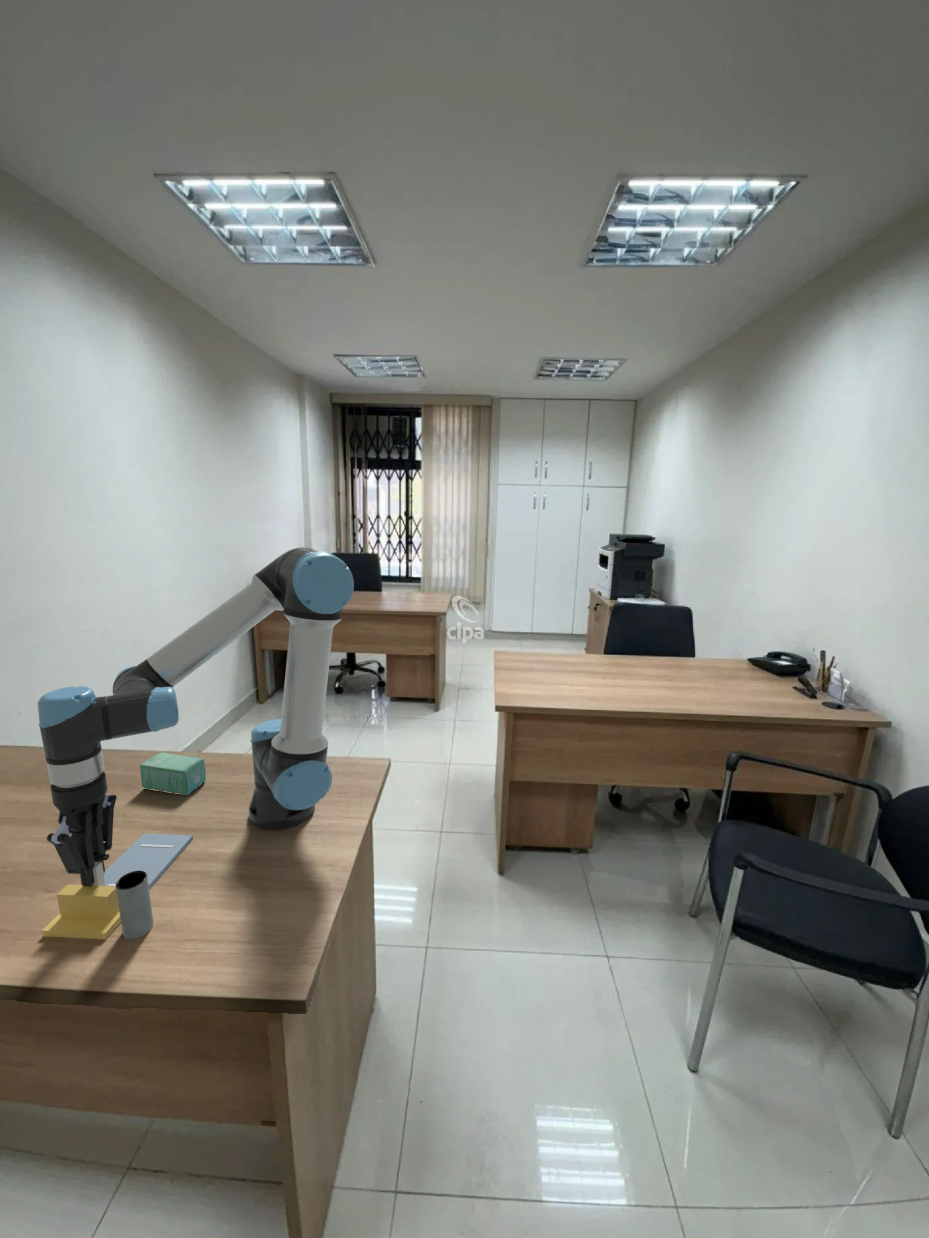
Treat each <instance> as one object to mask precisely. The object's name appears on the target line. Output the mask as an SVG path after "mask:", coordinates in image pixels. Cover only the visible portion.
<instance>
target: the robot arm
mask: <svg viewBox="0 0 929 1238" xmlns="http://www.w3.org/2000/svg"><path fill="white" fill-rule="evenodd" d="M354 586H355V583H354V577H353V573H352V571H351V570H350V568H349V567H348V565H347V563H346V562H344V561H343V559H341V558H340V557H337V556H336V555H335V554H333V553H331V552H328V551H324V550H317V549H313V548H310V547H309V548H308V547H296V548H292V549H290V550H288V551H285V552H283V553H282V554H281V555H280V556H278V557H277V558H275V559H274V560H273V561H271V562H270V563H268V564H267V565H266V566H265V567H263V568H262V569H260V570H259V571H258V572H257V573H255V574H254V575H252V580H251V583H250V584H248V585H247V586H245V587H244V588H243V589H242V590H240V591H238V592H237V593H236V594H235V595H233V596H232V597H230V598H229V599H227V600H226V601H225V602H223V603H222V604H221V605H219V606H218V607H216V608H215V609H214V610H212V611H211V612H210V613H208V614H207V615H205V616H204V617H203V618H201V619H199V620H198V621H197V622H196V623H194V624H193V625H192V626H190V627H189V628H187V629H186V630H185V631H183V632H182V633H181V634H179V635H177V636H176V637H175V638H173V639H172V640H171V641H169V642H168V643H167V644H165V645H164V646H163V647H161V648H159V649H158V650H157V651H155V652H154V653H153V654H152V655H150V656H149V657H148V658H146V659H145V660H144V661H143V660H142V662H140V663H139V664H137V665H132V666H128V667H126V668H124V669H121V671H120V672H119V673H118V674H117V675H116V677H115V679H114V681H113V684H112V694H113V695H105V696H97V697H96V694H95V693H94V689H92V688H90V687H88V686H83V685H82V686H67V687H63V688H57V689H54V690H51V691H49V692H47V693H45V694H43V695H42V696H41V697H40V698H39V699H38V701H37V709H38V710H37V711H38V719H39V722H38V727H39V730H40V735H41V740H42V741H41V742H42V745H43V750H44V757H45V761H46V766H47V767H46V768H47V772H48V773H47V774H48V779H49V783H50V784H51V785H50V786H49V787H50V793H51V798H52V803H53V805H54V807H55V808H56V809H57V810H58V811H59V813H58V819H57V820H58V821H57V822H58V824H59V826H58V827H57V828H56V830H55V832H51V833H48V835H47V836H46V840H47V842H49V843H51V845H53V846H54V849H55V850H56V852H57V854H58V856H59V858H60V860H61V862H62V864H63V866H64V869H65V871H66V873H67V874H69V875H73V874H74V875H79V876H80V877H79V878H80V885H82V886H90V887H91V886H106V885H105V879H104V873H105V871H106V868H105V861H108V859H109V858H110V854H109V853H106V852H107V851H110V850H111V849H112V847H113V836H114V835H113V833H114V831H113V830H114V816H115V815H114V814H115V813H114V811H115V810H114V809H115V804H116V801H117V795H116V794H107V792H108V783H107V777H106V772H105V768H106V767H105V766H106V765H105V762H104V761H105V760H104V754H103V748H102V742H105V741H108V740H114V739H119V738H123V737H124V738H125V737H130V736H135V735H140V734H145V733H146V734H147V733H152V732H153V733H155V732H159V731H161V730H165V729H169V728H173V727H175V726H176V725H178V723H179V720H180V719H179V718H180V716H179V715H180V714H179V706H178V699H177V693H176V690H175V688H174V687H175V686H177V685H178V684H179V683H180V682H182V680H184V679H186V678H187V677H189V675H191V674H193V672H195V671H196V670H198V669H199V668H200V667H202V666H203V665H204V664H205V663H207V662H209V660H211V659H212V658H214V657H215V656H216V655H218V654H219V653H220V652H221V651H223V650H224V649H225V648H227V647H229V645H230V644H232V643H234V642H235V641H236V640H237V639H239V638H240V637H242V636H243V635H244V634H246V633H247V632H249V630H251V629H252V628H253V627H255V626H257V624H258V623H260V622H262V621H263V620H264V619H265V618H267V617H268V616H269V615H271V614H272V613H273V612H274V611H281V612H282V611H283V615H284V617H285V618H286V619H287V620H288V622H289V623H290V625H289V634H288V636H289V637H288V643H287V644H288V645H287V646H288V647H287V653H286V654H287V655H286V666H285V676H284V677H285V678H284V686H283V688H284V689H283V697H282V708H281V716H280V717H281V718H275V719H271V720H267V721H264V722H261V723H259V724H257V725H256V726H254V727H253V728H252V730H251V733H250V734H251V736H250V737H251V738H250V743H251V752H252V753H251V754H252V764H253V765H252V766H253V775H254V776H253V778H254V789H253V792H252V795H251V799H250V803H249V806H248V817H249V821H250V823H251V824H252V825H253V826H255V827H257V828H259V829H262V830H268V831H269V830H270V831H271V830H272V831H275V830H276V831H277V830H282V829H288V828H291V827H293V826H296V825H298V824H299V825H300V824H302V822H304V821H306V820H307V819H308V818H310V817H311V815H313V813H314V811H315V809H316V808H315V807H316V805H317V804H318V803H319V802H320V801H321V800H322V799H324V798H325V797H326V795H327V794H328V792H329V791H330V789H331V787H332V782H333V774H332V771H331V768H330V766H329V765H328V764H327V756H328V749H329V748H328V747H329V740H328V738H326V736H325V735H323V725H324V717H325V708H326V707H325V706H326V698H327V689H328V678H329V672H330V671H329V670H330V662H331V650H332V642H333V633H334V628H335V626H336V625H337V624H338V623H340V622H341V621H342V619H343V612H344V611H343V610H344V607H345V606H346V605H348V604H349V602H350V600H351V598H352V596H353V593H354V589H355V587H354Z"/></svg>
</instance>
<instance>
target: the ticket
mask: <svg viewBox="0 0 929 1238" xmlns="http://www.w3.org/2000/svg"><path fill="white" fill-rule="evenodd" d="M193 837H194V836H193V835H191V834H169V833H168V834H167V833H143V834H142V835H141V836H139V838H138V839H137V840H136V841H135V842H133V843H132V844H131V845H130V846H129V847H128V848H127V849H126V850H125V851H124V852H123V853H122V854H121V855H120V856H119V857H118V858H117V859H116V860H115V861H114V862H113V863H112V864H111V865H109V867H108V868H106V869H105V873H104V879H105V885H106V886H115V887H116V882H117V881H118V880H119V879H120V878H121V877H122V876H124V875H125V874H127V873H130V872H133V871H144V872H146V873H147V878H148V885H149V890H151V888H152V887H154V885H155V884H156V883H157V882H158V880H159V879H160V878H161V877H162V875H164V873H165V872H167V870H168V869H169V867H170V866H172V864H173V863H174V862H175V860H176V859H177V858H178V857H179V856H180V855H181V854H182V853H183V852H184V850H185V849H187V847H188V845H189V844H190V843H191V842H192V841H193V840H194V838H193Z"/></svg>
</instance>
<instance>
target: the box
mask: <svg viewBox="0 0 929 1238" xmlns="http://www.w3.org/2000/svg"><path fill="white" fill-rule="evenodd" d="M139 766H140V767H139V768H140V769H139V770H140V776H141V779H140V780H141V788H142V787H144V788H147V789H155V790H159V791H167V792H172V793H179V794H182V795H181V796H183V795H188V794H189V793H190V794H192V793H193V792H194V791H195V790H194V789H195V788H196V787H198V786H199V785H200V784H201V783H203V782H204V781H205V782H206V777H207V776H206V775H207V774H206V773H207V772H206V764H205V759H204V758H203V757H195V756H189V755H180V754H173V753H169V752H168V753H167V752H159V753H157V754H156V755H154V756H152V757H151V758H149V759H147V760H145V761H144V762H142V763H141V764H139ZM205 782H204V783H205ZM204 783H203V784H204ZM199 787H200V786H199ZM199 787H198V788H199ZM193 790H194V791H193ZM192 791H193V792H192ZM191 792H192V793H191ZM190 794H189V795H190ZM189 795H188V796H189Z"/></svg>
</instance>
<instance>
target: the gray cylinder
mask: <svg viewBox="0 0 929 1238" xmlns="http://www.w3.org/2000/svg"><path fill="white" fill-rule="evenodd" d="M116 892H117V899H118V905H119V912H120V919H121V923H120V924H121V930H122V931H121V932H122V935H123V938H124V939H126V940H129V941H131V940H137V939H141V938H142V937H144V936H146V935H147V934H148V933H149V932H150V931H151V930H152V929H153V927H154V915H153V909H152V901H151V896H150V895H151V894H150V889H149V885H148V878H147V873H146V872H144V871H133V872H130V873H127V874H125V875H124V876H122V877H121V878H120V879H119V880H118V881H117V882H116Z"/></svg>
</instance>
